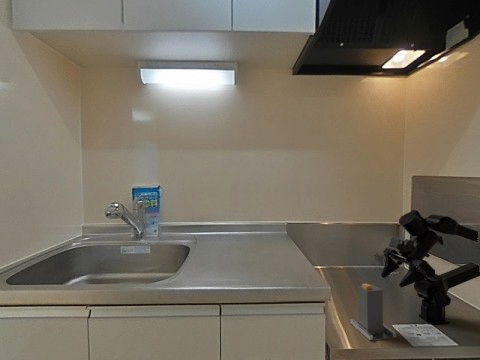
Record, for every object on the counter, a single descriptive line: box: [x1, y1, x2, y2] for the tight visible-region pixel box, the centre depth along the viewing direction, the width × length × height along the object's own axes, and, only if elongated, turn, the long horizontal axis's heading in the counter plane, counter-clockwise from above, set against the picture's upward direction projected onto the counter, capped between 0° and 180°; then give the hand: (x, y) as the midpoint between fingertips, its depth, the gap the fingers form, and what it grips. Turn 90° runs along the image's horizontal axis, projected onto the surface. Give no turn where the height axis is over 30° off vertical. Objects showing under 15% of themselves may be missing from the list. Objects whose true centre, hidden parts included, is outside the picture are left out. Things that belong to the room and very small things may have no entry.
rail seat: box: [349, 318, 397, 342], centre depth 100 cm, size 8×11×2 cm
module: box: [357, 283, 384, 334], centre depth 99 cm, size 5×5×14 cm
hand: (390, 281), depth 104 cm, fingers open, 9 cm apart
